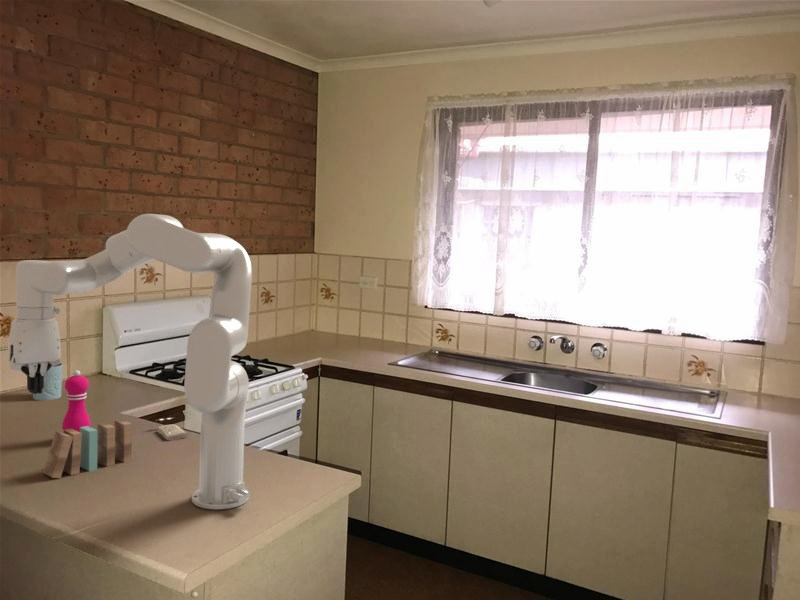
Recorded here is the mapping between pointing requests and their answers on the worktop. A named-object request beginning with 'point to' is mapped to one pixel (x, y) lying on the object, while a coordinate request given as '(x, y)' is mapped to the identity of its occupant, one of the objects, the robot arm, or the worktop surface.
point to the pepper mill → (76, 403)
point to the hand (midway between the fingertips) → (35, 392)
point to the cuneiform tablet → (171, 431)
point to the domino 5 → (123, 440)
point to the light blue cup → (51, 384)
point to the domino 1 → (58, 454)
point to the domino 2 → (73, 453)
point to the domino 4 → (106, 444)
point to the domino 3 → (88, 448)
